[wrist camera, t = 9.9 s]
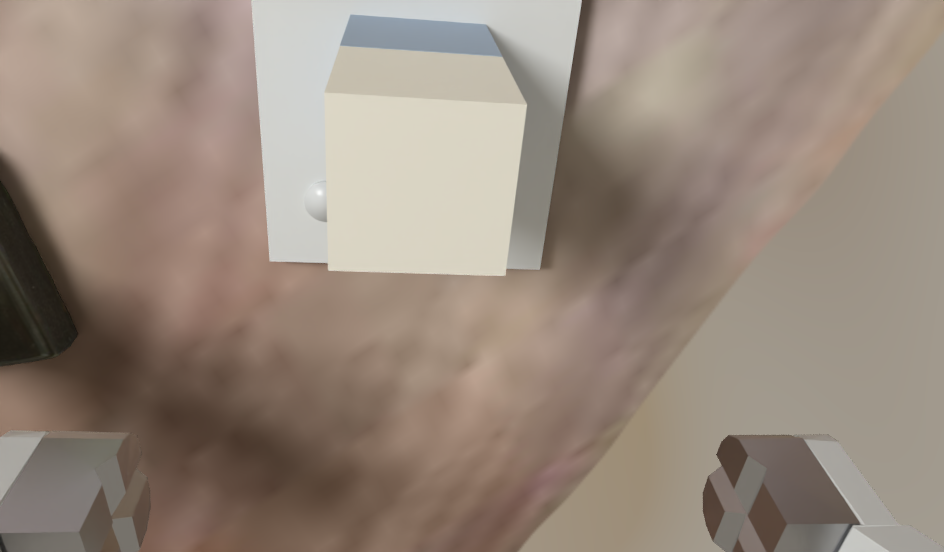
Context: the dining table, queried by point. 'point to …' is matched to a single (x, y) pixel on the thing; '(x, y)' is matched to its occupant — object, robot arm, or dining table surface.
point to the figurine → (27, 297)
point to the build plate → (303, 111)
